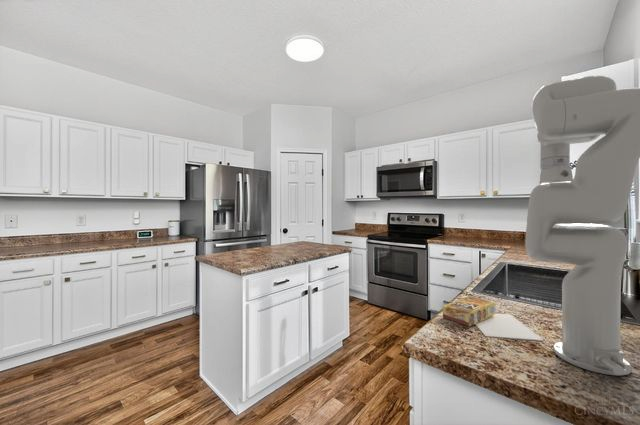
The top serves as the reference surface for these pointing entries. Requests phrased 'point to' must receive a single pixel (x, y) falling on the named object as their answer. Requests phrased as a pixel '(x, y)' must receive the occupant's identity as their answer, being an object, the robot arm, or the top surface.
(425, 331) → the top surface
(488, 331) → the baking mat
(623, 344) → the top surface
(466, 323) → the candy box
